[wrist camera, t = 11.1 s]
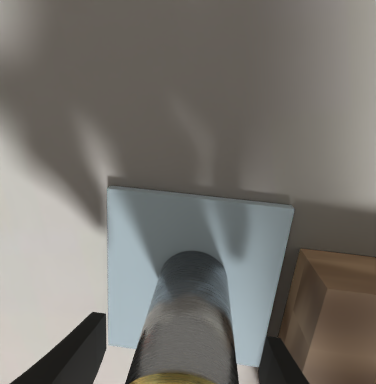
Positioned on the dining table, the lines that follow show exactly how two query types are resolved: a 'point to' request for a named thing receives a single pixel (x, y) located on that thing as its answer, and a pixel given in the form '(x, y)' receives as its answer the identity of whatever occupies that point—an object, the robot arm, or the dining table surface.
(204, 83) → the dining table surface
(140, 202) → the rubber mat
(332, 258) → the block
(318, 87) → the dining table surface
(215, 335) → the steel key peg
